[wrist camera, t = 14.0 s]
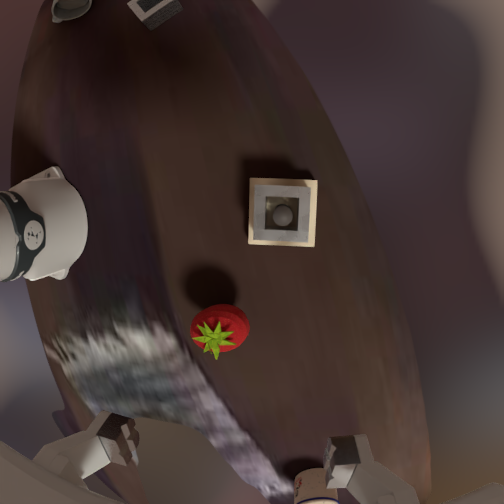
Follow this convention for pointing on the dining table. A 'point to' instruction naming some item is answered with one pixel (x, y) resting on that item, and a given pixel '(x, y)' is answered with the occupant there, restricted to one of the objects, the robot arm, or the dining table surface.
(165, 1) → the white square box
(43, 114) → the dining table surface
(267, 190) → the end link
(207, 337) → the strawberry
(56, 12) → the ceramic mug
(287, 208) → the block
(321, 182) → the dining table surface
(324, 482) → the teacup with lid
